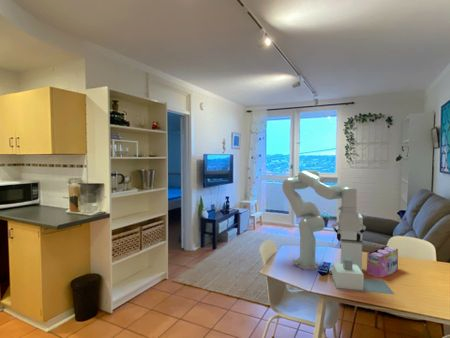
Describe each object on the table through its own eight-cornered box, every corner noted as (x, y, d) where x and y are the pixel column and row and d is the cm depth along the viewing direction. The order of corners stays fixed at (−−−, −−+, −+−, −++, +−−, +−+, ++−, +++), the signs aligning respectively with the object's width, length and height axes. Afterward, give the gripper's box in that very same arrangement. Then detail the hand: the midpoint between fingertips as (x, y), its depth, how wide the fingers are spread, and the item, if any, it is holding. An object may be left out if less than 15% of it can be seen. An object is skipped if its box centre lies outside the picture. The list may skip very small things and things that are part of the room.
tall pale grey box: (358, 268, 173) (359, 213, 172) (361, 275, 163) (362, 217, 162) (339, 266, 177) (340, 212, 175) (340, 273, 167) (341, 216, 165)
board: (336, 290, 145) (336, 288, 145) (331, 277, 161) (331, 276, 161) (394, 296, 140) (395, 294, 140) (383, 282, 155) (383, 280, 155)
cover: (336, 287, 147) (337, 263, 146) (332, 277, 159) (332, 254, 159) (363, 290, 144) (363, 264, 143) (356, 279, 157) (357, 256, 156)
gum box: (386, 265, 178) (386, 245, 178) (399, 270, 172) (399, 248, 171) (366, 275, 165) (366, 252, 164) (379, 279, 158) (380, 256, 158)
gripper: (333, 210, 148) (332, 242, 148) (368, 211, 144) (367, 243, 145) (330, 208, 155) (330, 238, 156) (363, 209, 152) (363, 239, 152)
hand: (348, 240), depth 150 cm, fingers open, 9 cm apart
